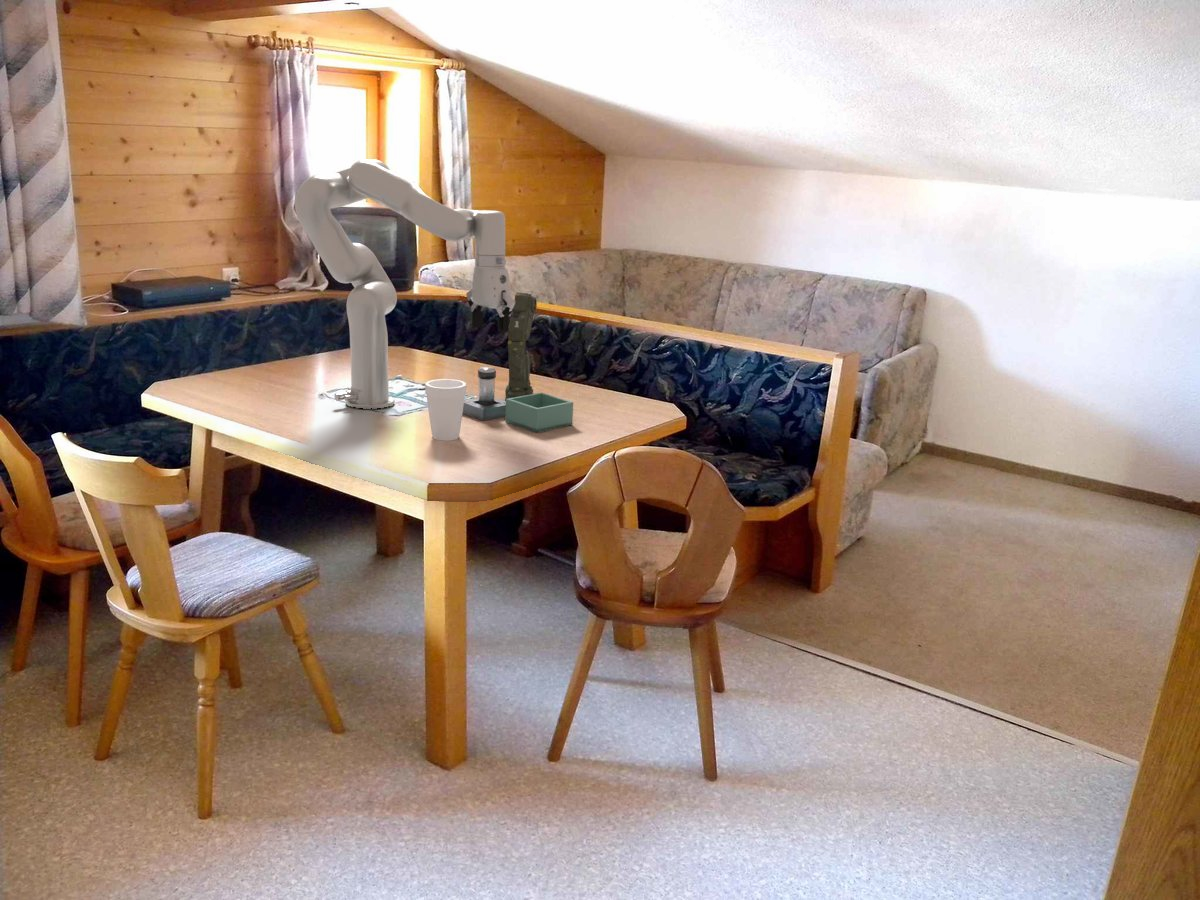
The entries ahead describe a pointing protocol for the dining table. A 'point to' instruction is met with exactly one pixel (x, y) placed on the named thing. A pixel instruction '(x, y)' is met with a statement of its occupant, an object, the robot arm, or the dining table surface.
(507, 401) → the bin
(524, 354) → the mechanical leg
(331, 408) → the dining table surface
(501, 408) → the socket block
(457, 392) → the foam cup
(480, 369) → the metal peg
